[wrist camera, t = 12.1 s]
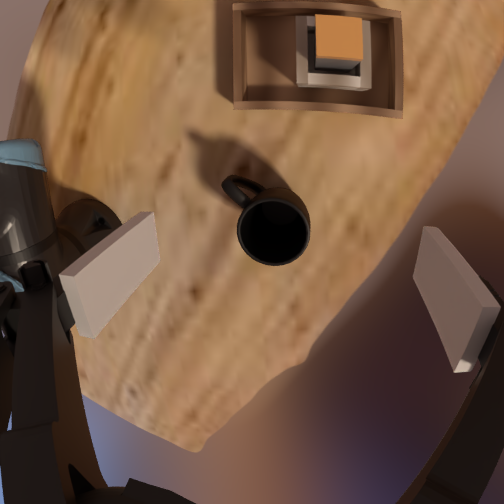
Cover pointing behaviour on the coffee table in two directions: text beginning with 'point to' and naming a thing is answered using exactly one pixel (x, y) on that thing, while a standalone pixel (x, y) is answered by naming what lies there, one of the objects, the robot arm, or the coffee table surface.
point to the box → (303, 60)
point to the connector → (337, 42)
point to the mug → (269, 222)
